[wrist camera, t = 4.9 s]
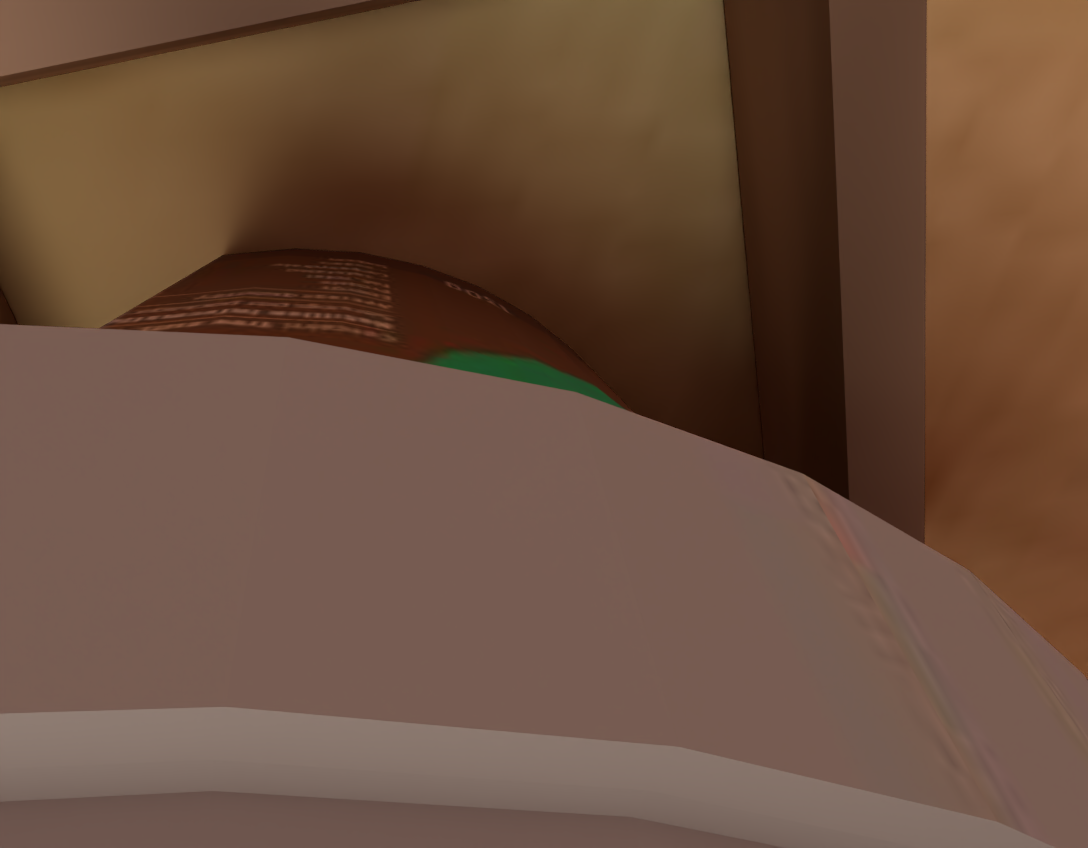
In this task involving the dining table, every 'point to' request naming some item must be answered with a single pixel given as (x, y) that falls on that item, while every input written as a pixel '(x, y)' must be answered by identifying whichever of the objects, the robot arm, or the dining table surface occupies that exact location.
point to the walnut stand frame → (766, 192)
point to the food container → (468, 601)
